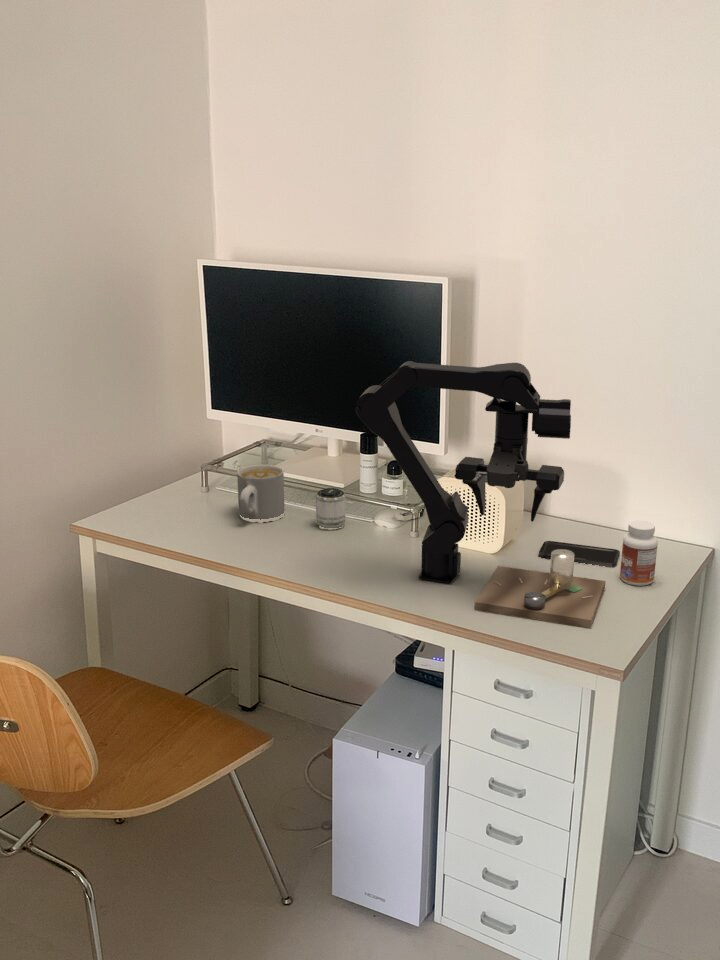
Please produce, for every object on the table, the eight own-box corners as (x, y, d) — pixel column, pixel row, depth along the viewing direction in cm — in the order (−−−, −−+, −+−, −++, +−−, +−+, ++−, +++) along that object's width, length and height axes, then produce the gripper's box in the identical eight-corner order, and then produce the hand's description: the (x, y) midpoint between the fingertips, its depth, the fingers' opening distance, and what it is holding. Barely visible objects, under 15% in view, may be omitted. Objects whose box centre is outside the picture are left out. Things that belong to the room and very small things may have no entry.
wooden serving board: (474, 609, 178) (475, 601, 178) (497, 573, 193) (498, 564, 193) (590, 628, 171) (591, 619, 171) (604, 588, 187) (605, 580, 186)
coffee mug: (257, 504, 230) (256, 462, 227) (293, 512, 225) (292, 469, 222) (219, 522, 219) (217, 478, 216) (256, 531, 214) (254, 486, 211)
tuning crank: (538, 611, 174) (540, 573, 171) (518, 604, 176) (520, 566, 174) (580, 587, 183) (583, 551, 180) (561, 581, 185) (564, 545, 183)
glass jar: (311, 528, 215) (310, 493, 213) (323, 519, 221) (323, 484, 218) (338, 532, 213) (338, 497, 211) (350, 522, 219) (350, 488, 216)
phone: (545, 540, 207) (620, 549, 202) (544, 545, 207) (620, 555, 202) (537, 554, 200) (615, 564, 195) (537, 559, 200) (615, 570, 195)
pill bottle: (614, 573, 193) (619, 518, 189) (646, 572, 193) (651, 517, 190) (626, 587, 187) (631, 531, 183) (658, 586, 188) (664, 529, 184)
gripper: (447, 442, 177) (445, 526, 182) (555, 453, 171) (550, 540, 176) (464, 426, 187) (462, 506, 192) (567, 435, 181) (561, 518, 186)
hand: (507, 517), depth 186 cm, fingers open, 9 cm apart
